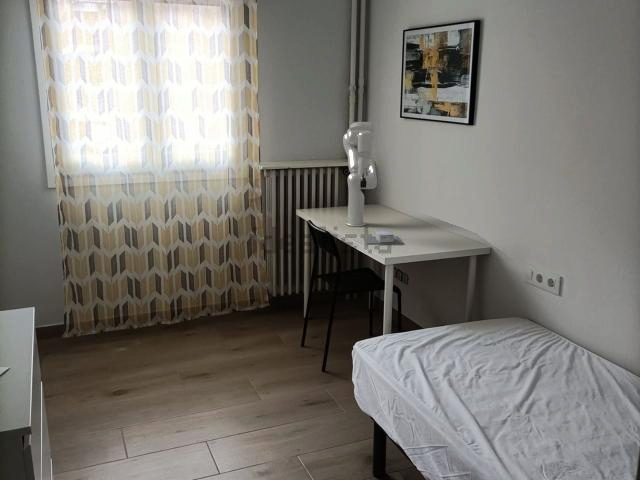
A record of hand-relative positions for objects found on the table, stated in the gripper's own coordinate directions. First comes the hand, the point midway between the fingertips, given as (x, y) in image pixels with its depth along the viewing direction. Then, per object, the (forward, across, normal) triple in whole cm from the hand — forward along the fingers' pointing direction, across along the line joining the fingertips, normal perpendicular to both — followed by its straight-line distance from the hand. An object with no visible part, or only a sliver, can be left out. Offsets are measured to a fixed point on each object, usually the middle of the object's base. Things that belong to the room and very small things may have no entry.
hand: (363, 187), depth 337 cm
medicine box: (+24, +12, +10) cm, 29 cm away
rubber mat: (+27, +15, +10) cm, 32 cm away
